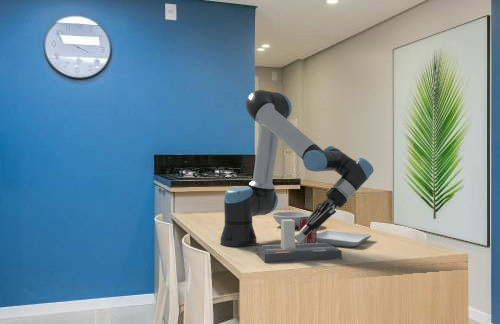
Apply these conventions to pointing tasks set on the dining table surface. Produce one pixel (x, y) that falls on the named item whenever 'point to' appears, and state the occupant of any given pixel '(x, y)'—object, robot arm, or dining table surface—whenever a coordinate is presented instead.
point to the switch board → (298, 252)
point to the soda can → (312, 235)
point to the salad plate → (341, 238)
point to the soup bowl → (290, 216)
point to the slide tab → (287, 234)
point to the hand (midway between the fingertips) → (296, 240)
